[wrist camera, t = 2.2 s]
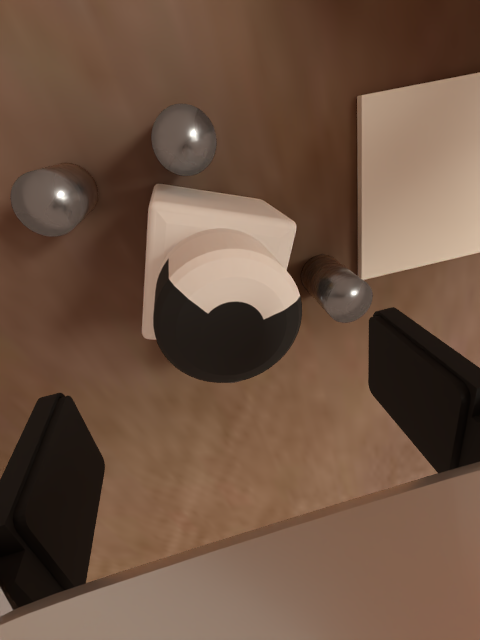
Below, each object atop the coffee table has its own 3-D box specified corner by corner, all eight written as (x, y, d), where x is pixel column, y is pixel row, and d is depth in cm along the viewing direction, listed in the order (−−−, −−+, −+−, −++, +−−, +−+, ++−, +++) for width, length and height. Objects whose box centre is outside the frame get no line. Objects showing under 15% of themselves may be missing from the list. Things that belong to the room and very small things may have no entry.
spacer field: (333, 80, 21) (376, 66, 16) (340, 315, 29) (371, 348, 24) (22, 139, 19) (-20, 140, 15) (118, 369, 27) (109, 413, 23)
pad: (535, 61, 22) (544, 59, 22) (499, 244, 28) (506, 246, 28) (357, 96, 21) (361, 95, 21) (357, 277, 27) (361, 280, 27)
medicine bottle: (246, 298, 26) (297, 405, 16) (147, 289, 25) (133, 402, 14) (264, 199, 23) (344, 251, 13) (154, 181, 22) (141, 225, 11)
